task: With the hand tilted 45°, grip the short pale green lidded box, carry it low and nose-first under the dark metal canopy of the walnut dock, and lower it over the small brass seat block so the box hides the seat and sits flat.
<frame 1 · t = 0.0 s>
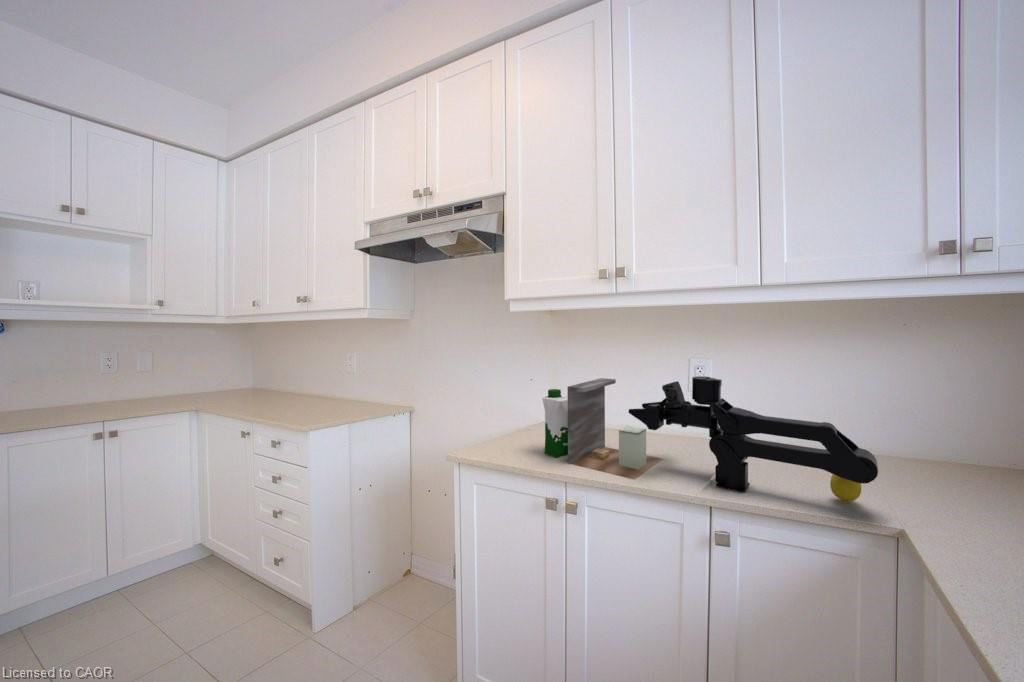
hand: (635, 408, 121), 17 cm above the worktop, tool horizontal, fingers open, 9 cm apart
lemon: (845, 503, 96), on the worktop
pale green lidded box: (632, 464, 120), point 1 cm above the worktop, touching dock
dock: (616, 464, 123), on the worktop
milk carton: (560, 454, 133), on the worktop
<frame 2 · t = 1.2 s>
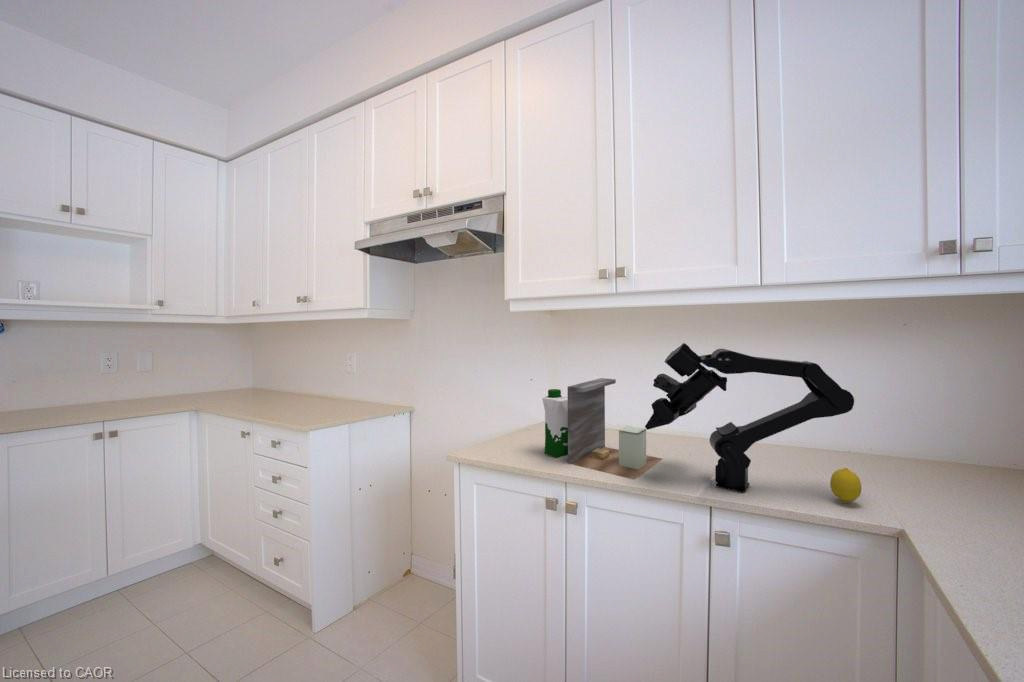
hand: (652, 424, 115), 13 cm above the worktop, tool tilted 45°, fingers open, 9 cm apart
nothing on the worktop moved.
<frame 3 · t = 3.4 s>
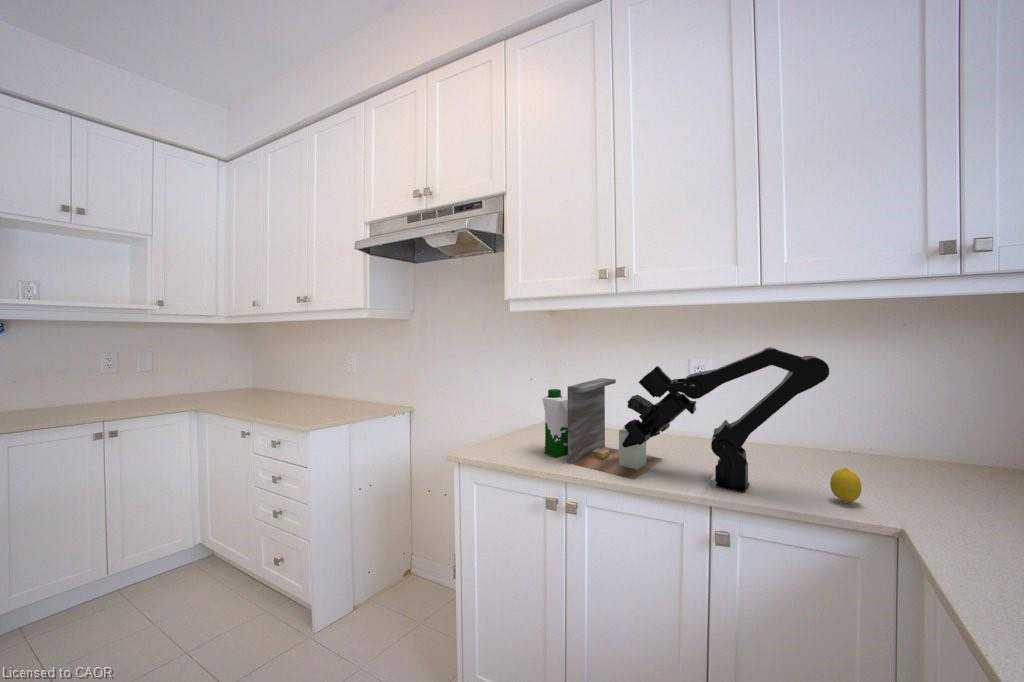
hand: (627, 443, 120), 7 cm above the worktop, tool tilted 45°, fingers closed on pale green lidded box, 6 cm apart
pale green lidded box: (632, 464, 120), point 1 cm above the worktop, touching dock, gripper
everything else where it was.
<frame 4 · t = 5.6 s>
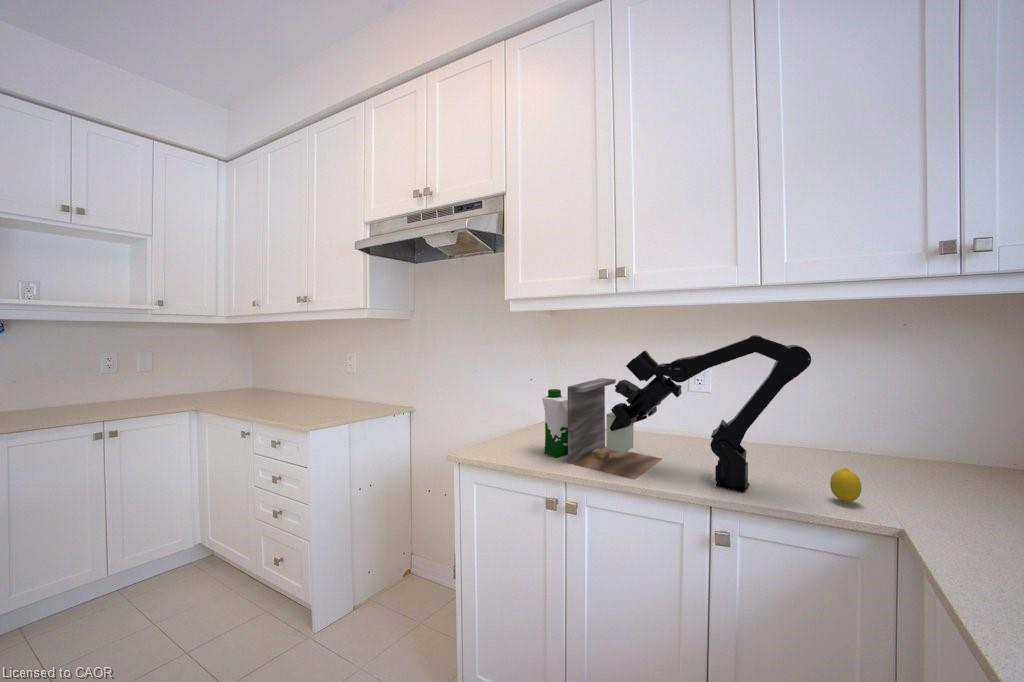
hand: (615, 427, 122), 11 cm above the worktop, tool tilted 45°, fingers closed on pale green lidded box, 6 cm apart
pale green lidded box: (619, 448, 122), point 5 cm above the worktop, touching gripper
everything else where it was.
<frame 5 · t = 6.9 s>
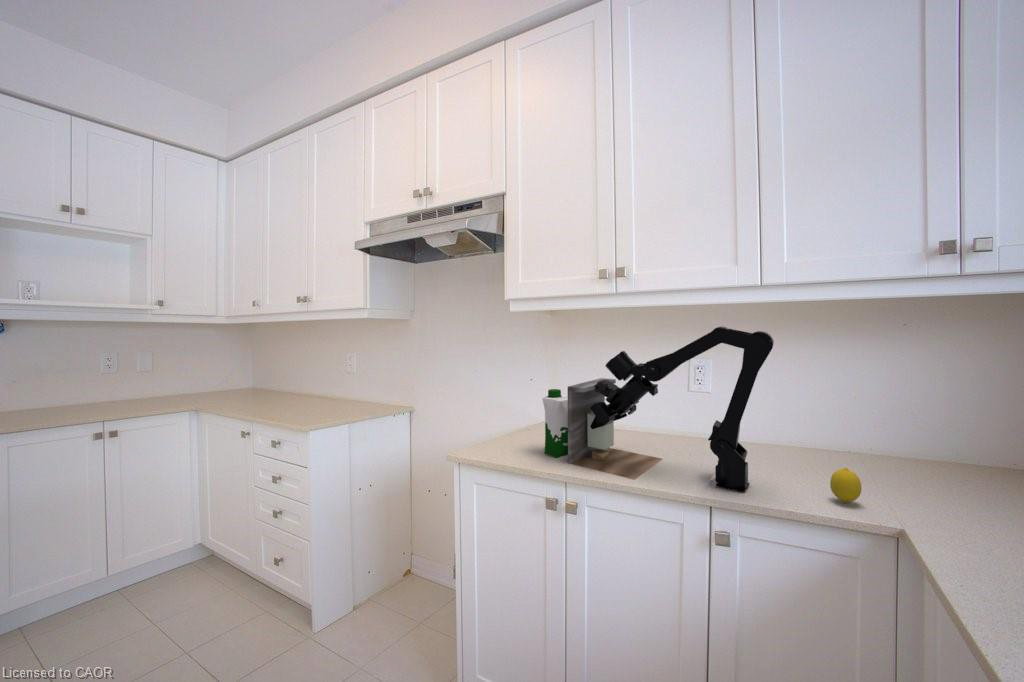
hand: (596, 425, 126), 10 cm above the worktop, tool tilted 45°, fingers closed on pale green lidded box, 6 cm apart
pale green lidded box: (600, 445, 126), point 5 cm above the worktop, touching gripper
everything else where it was.
when the fingers open (8 cm above the worktop, at t = 8.0 s): pale green lidded box stays where it is, resting on dock.
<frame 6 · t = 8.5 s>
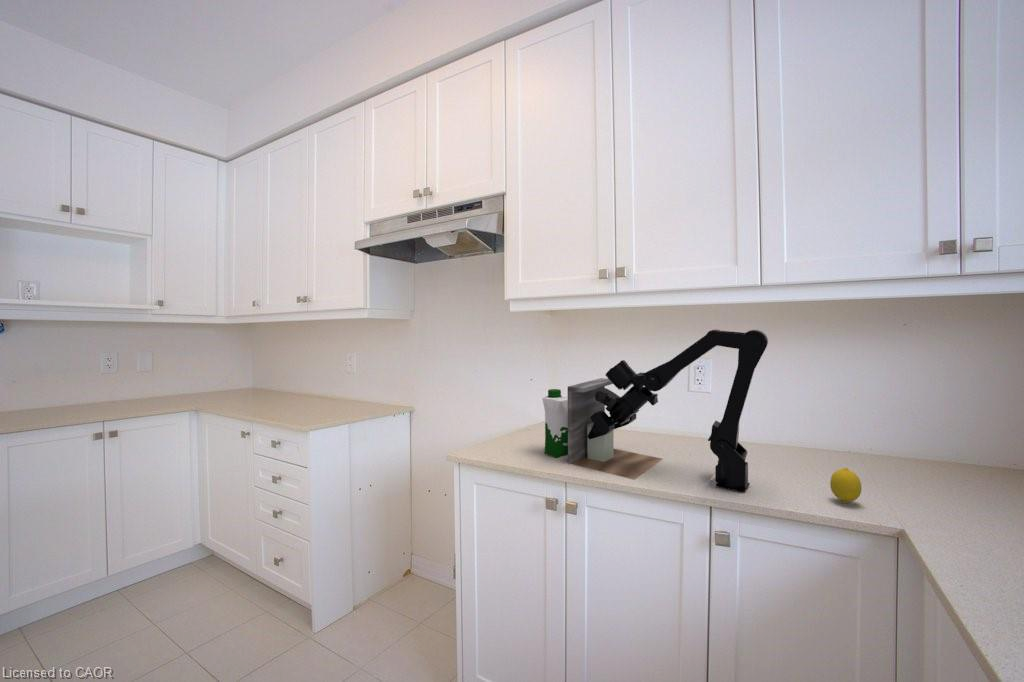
hand: (596, 434, 127), 8 cm above the worktop, tool tilted 45°, fingers open, 9 cm apart
pale green lidded box: (600, 457, 126), point 1 cm above the worktop, touching dock
everything else where it was.
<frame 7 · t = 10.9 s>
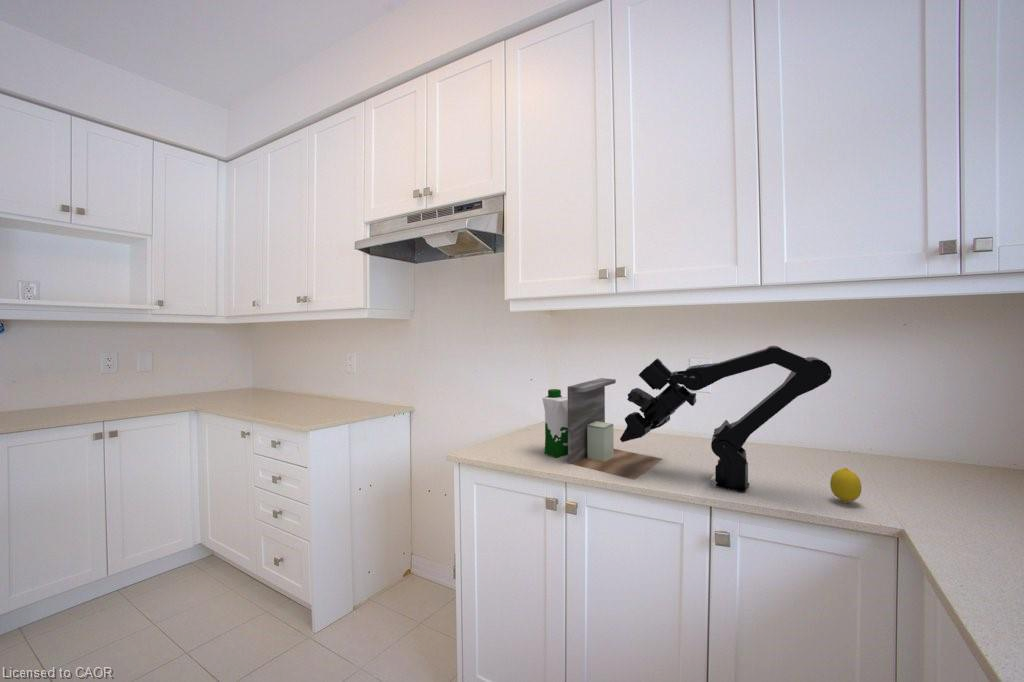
hand: (628, 436, 120), 9 cm above the worktop, tool tilted 45°, fingers open, 9 cm apart
nothing on the worktop moved.
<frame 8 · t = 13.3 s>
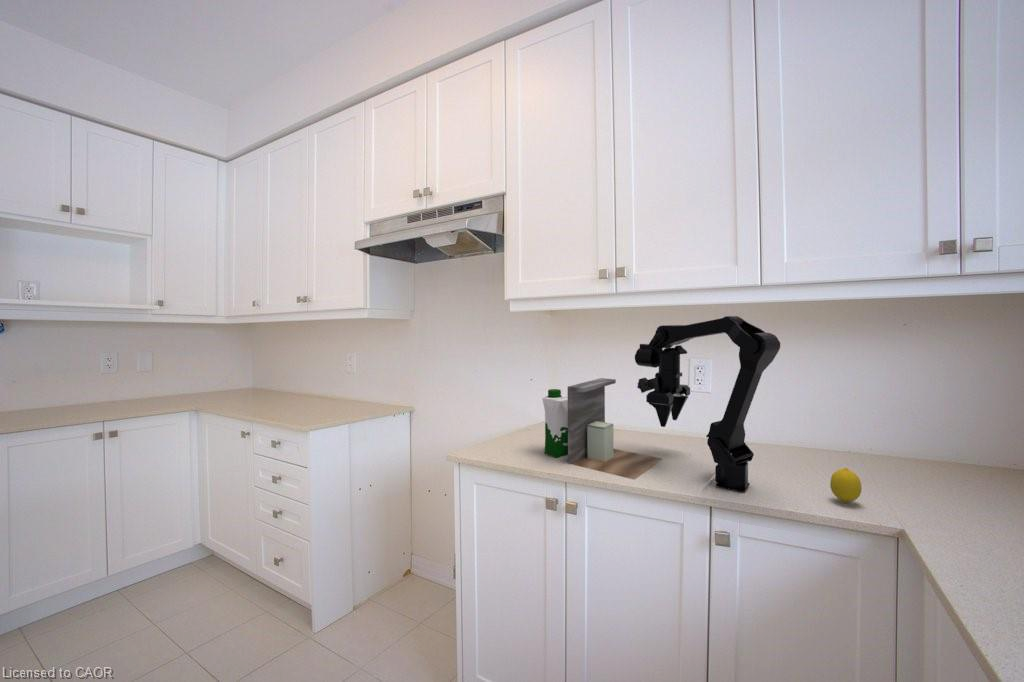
hand: (669, 423, 121), 12 cm above the worktop, tool pointing down, fingers open, 9 cm apart
nothing on the worktop moved.
at the end: pale green lidded box 0.0 cm from the target spot on the dock, point 1.0 cm above the dock's base; pale green lidded box tilted 0°; the gripper is holding nothing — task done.
